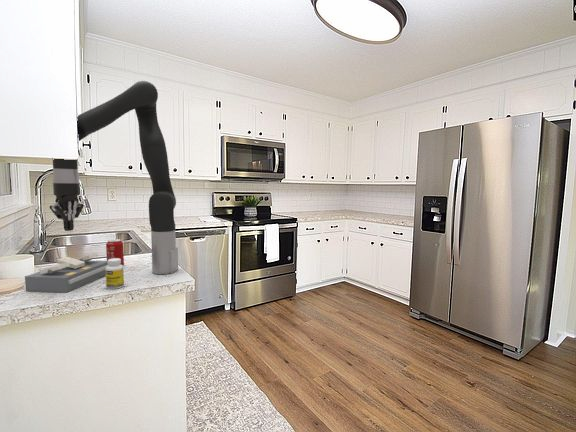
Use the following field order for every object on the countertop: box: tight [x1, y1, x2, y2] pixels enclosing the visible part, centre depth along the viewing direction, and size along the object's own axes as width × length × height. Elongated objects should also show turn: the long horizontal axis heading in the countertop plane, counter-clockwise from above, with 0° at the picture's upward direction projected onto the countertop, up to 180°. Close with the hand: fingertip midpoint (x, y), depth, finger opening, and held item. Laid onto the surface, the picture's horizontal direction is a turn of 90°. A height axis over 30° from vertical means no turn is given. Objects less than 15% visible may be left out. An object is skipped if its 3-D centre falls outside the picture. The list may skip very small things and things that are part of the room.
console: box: [24, 260, 109, 294], centre depth 108 cm, size 15×22×5 cm, turn 177°
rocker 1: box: [38, 262, 70, 274], centre depth 100 cm, size 7×4×2 cm, turn 87°
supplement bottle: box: [105, 258, 125, 290], centre depth 103 cm, size 5×5×10 cm
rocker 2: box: [56, 256, 85, 269], centre depth 107 cm, size 7×4×2 cm, turn 87°
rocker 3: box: [76, 252, 99, 262], centre depth 114 cm, size 7×4×2 cm, turn 87°
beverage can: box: [105, 238, 125, 266], centre depth 126 cm, size 6×6×12 cm
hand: (69, 230), depth 106 cm, fingers closed
